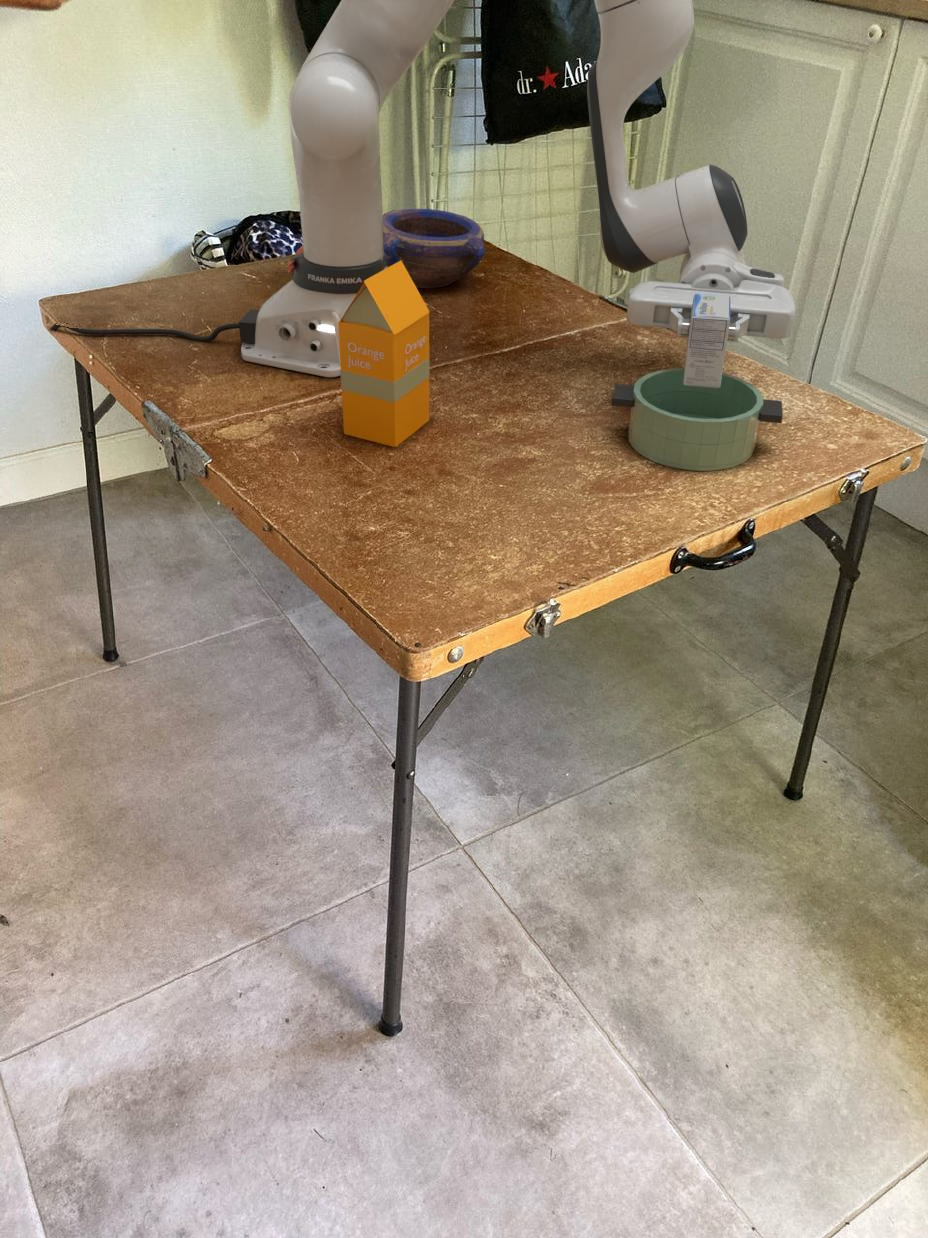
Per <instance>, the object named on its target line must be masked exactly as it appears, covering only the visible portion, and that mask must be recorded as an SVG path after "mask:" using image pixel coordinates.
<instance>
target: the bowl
mask: <svg viewBox="0 0 928 1238" xmlns="http://www.w3.org/2000/svg"><path fill="white" fill-rule="evenodd" d="M484 242H485V233H484V230H483V228H482V227H481V226H480V225H479V223H478V222H476V221H475V220H473V219H471V218H469V217H468V216H466V215H462V214H458V213H454V212H451V211H446V210H441V209H431V208H403V209H391V210H388V211H387V212H384V213H383V248H384V252H385V253H386V255H387V266H388V267H390V266H392V265H393V264H395V263H397V262H399V261H402V263H403V264H404V266H405V268H406V270H407V272H408V273H409V275H410V277H411V279H412V281H413V282H414V284H415V286H416V288H417V289H418V288H419V289H434V288H441V287H445V286H448V285H451V284H452V283H454V281H456V280H457V279H459V278H461V277H463V276H465V275H467V274H469V273H470V272H472V271H473V270H474V269H475V268H476V267H477V266H478V264H480V263H481V261H482V260H483V258H484V256H485V253H486V248H485V245H484Z"/></svg>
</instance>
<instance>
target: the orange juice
mask: <svg viewBox="0 0 928 1238" xmlns="http://www.w3.org/2000/svg"><path fill="white" fill-rule="evenodd" d="M430 313H431V312H430V309H429V308H428V306H427V304H426V302H425V300H424V298H423V296H422V295H421V294H420V292H419V290H418V287H416V286H415V284H414V282H413V281H412V279H411V277H410V275H409V273H408V272H407V270H406V268H405V266H404V264H403V263H402V261H399V262H397V263H395V264H393V265H392V266H390V267H388V268H386V269H384V270H383V271H381V272H379V273H377V274H375V275H374V276H372V277H370V278H368V279H366V280H365V281H364V284H363V285H362V287H361V289H360V290H359V292H358V293H357V295H356V296H355V298H354V300H353V301H352V303H351V304H350V306H349V307H348V309H347V311H346V312H345V314H344V315H343V317H342V318H341V320H340V321H339V322H338V328H339V347H340V366H341V370H340V390H341V401H342V419H343V434H344V435H347V436H350V437H354V438H358V439H362V440H366V441H370V442H374V443H376V444H381V445H385V446H389V447H392V448H397V447H398V446H399V445H401V444H402V443H403V442H404V441H405V440H407V439H408V438H409V437H410V436H412V435H413V434H414V433H416V432H417V431H418V430H420V428H422V427H423V426H424V425H426V424H427V423H428V422H429V421H430V377H431V376H430V372H431V371H430V367H431V365H430V364H431V363H430Z"/></svg>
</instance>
